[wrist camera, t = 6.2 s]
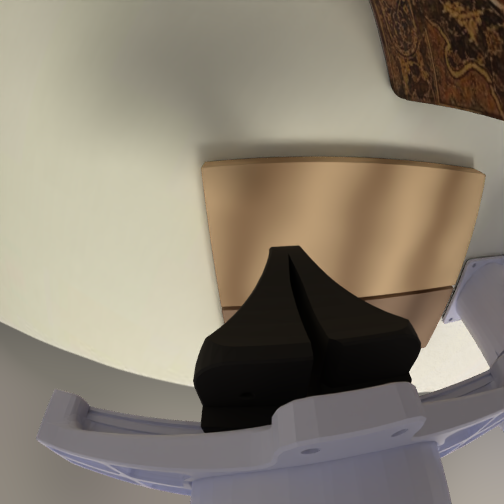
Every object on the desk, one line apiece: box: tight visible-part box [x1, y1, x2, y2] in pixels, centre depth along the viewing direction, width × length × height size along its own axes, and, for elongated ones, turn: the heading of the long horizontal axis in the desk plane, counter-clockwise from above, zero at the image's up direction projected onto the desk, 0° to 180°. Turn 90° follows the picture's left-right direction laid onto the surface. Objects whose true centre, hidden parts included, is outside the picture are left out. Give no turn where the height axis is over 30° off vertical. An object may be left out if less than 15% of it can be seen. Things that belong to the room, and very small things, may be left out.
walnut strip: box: [222, 285, 454, 348], centre depth 23 cm, size 20×8×2 cm, turn 93°
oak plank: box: [201, 157, 486, 307], centre depth 18 cm, size 20×10×2 cm, turn 93°
